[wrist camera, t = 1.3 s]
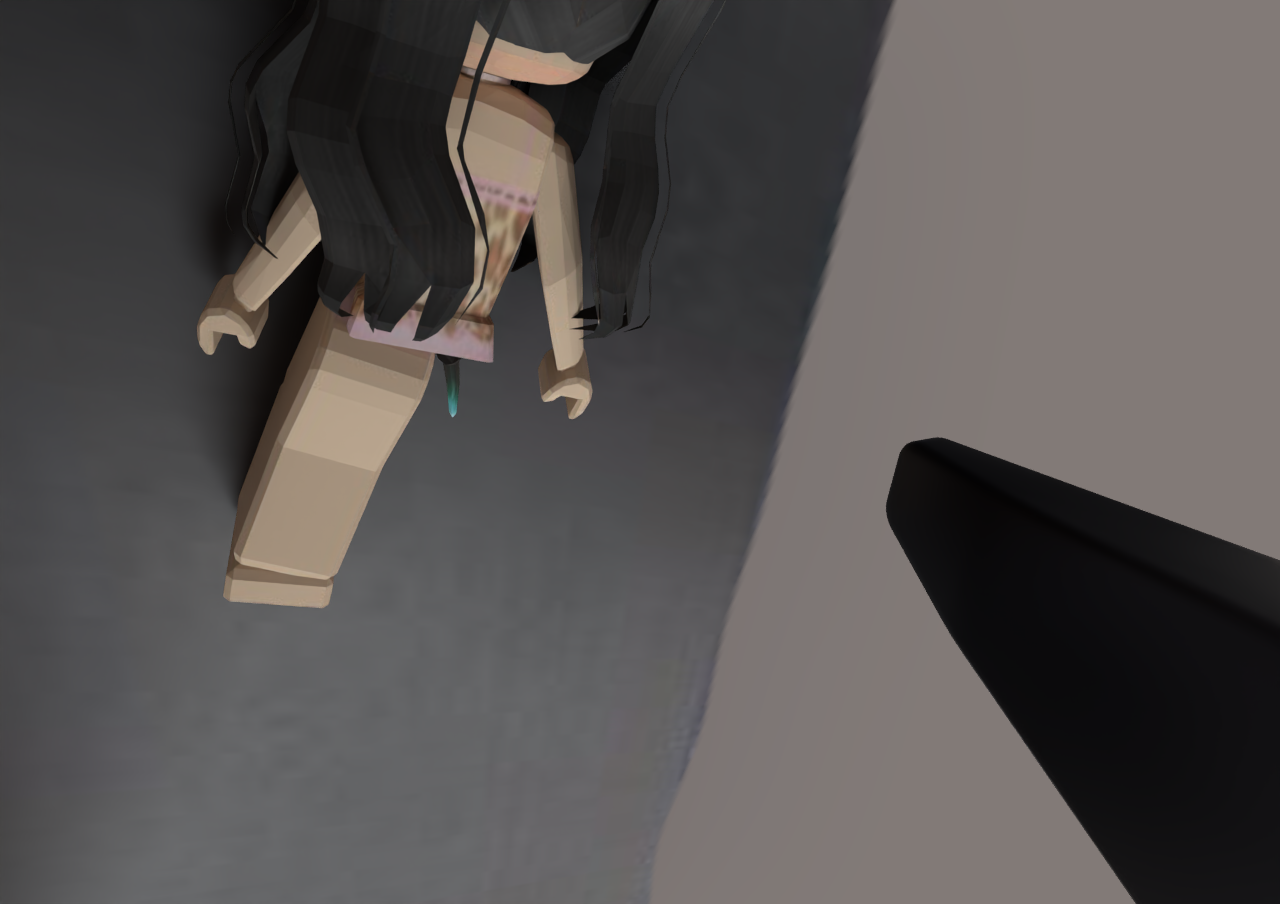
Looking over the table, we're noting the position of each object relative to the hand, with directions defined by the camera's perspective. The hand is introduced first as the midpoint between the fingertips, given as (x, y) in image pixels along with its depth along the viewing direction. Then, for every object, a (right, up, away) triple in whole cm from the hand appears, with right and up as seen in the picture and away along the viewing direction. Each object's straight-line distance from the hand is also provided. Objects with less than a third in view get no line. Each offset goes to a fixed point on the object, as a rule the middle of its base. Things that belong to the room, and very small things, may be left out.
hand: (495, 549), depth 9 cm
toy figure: (-3, +6, +9) cm, 11 cm away
